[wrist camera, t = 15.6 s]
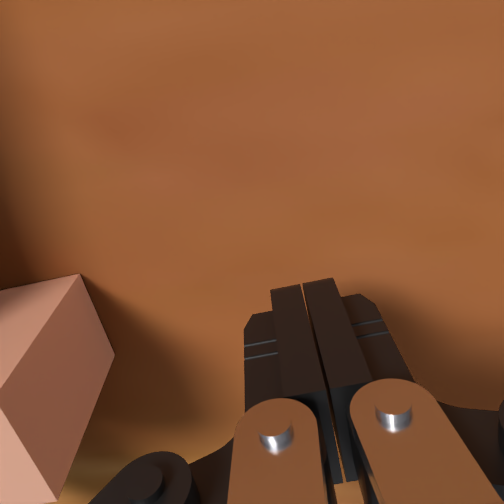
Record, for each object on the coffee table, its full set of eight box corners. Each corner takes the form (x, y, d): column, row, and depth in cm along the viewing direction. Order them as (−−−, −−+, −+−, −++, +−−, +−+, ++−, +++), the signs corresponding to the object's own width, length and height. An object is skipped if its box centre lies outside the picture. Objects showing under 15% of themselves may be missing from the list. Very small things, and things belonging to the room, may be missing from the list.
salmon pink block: (-18, 294, 13) (-152, 426, 9) (79, 273, 13) (-6, 397, 8) (26, 372, 14) (-72, 523, 10) (114, 354, 14) (57, 500, 10)
